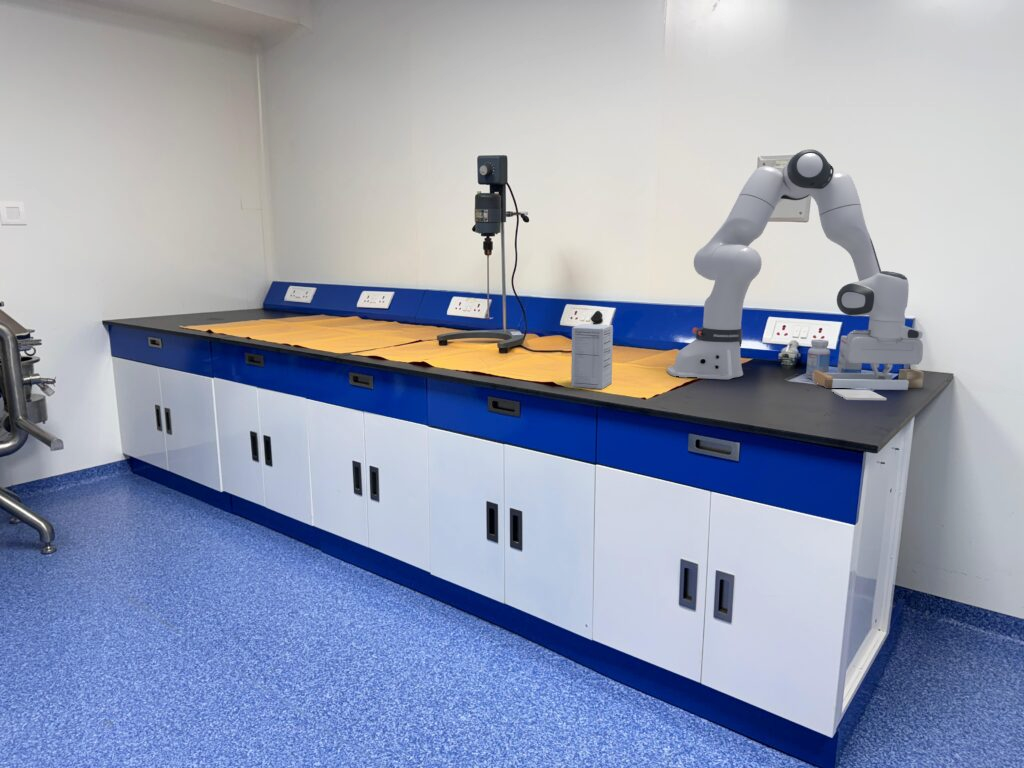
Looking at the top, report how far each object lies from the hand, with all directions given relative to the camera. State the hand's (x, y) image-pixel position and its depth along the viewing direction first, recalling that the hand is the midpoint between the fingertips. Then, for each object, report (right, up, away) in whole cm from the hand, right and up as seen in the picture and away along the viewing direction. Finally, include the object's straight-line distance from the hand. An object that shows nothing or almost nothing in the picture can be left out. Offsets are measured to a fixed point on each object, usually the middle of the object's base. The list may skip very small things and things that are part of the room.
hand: (879, 379), depth 198 cm
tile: (-12, -5, -12) cm, 18 cm away
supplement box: (-82, -2, 0) cm, 82 cm away
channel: (-6, -2, +1) cm, 6 cm away
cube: (+9, -2, 0) cm, 9 cm away
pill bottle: (-13, 0, +11) cm, 17 cm away
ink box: (-2, +1, +14) cm, 15 cm away
